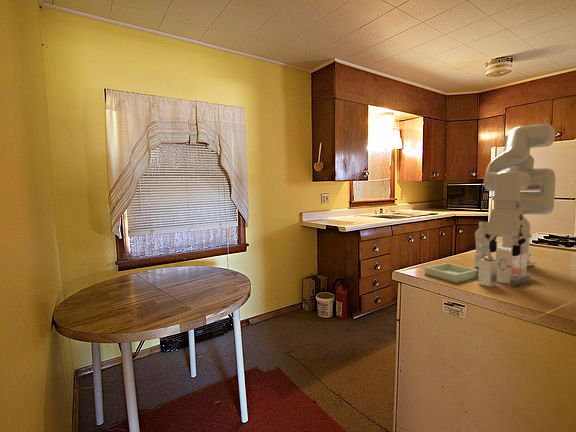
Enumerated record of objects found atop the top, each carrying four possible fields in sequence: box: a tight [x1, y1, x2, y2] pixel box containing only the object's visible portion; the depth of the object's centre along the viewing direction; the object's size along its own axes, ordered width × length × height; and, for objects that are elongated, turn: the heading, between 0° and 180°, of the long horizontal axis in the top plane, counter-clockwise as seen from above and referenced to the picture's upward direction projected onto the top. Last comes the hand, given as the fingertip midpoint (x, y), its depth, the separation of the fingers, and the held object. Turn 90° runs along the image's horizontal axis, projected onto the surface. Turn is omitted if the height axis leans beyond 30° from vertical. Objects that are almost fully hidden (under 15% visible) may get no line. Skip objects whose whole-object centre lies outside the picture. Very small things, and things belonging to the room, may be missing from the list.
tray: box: [424, 262, 479, 284], centre depth 117 cm, size 14×13×3 cm
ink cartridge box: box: [495, 241, 513, 285], centre depth 110 cm, size 9×5×15 cm, turn 143°
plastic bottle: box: [473, 220, 492, 269], centre depth 126 cm, size 6×7×20 cm
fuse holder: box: [477, 251, 531, 288], centre depth 110 cm, size 24×12×10 cm, turn 117°
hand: (504, 253), depth 110 cm, fingers open, 6 cm apart
